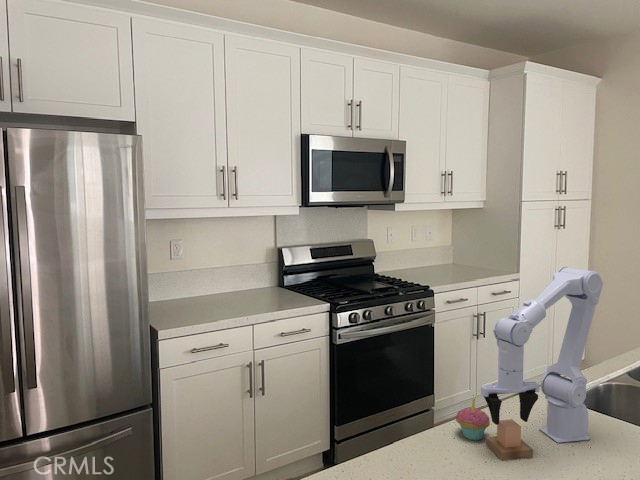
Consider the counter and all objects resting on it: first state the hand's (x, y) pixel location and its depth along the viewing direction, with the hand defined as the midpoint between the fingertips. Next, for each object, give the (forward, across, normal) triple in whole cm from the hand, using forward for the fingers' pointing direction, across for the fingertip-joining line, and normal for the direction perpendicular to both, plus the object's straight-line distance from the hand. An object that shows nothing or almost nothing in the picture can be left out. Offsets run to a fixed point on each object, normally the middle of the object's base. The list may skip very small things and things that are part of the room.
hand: (509, 421), depth 126 cm
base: (+8, 0, 0) cm, 8 cm away
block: (+6, 0, 0) cm, 6 cm away
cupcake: (+8, +5, -9) cm, 13 cm away
